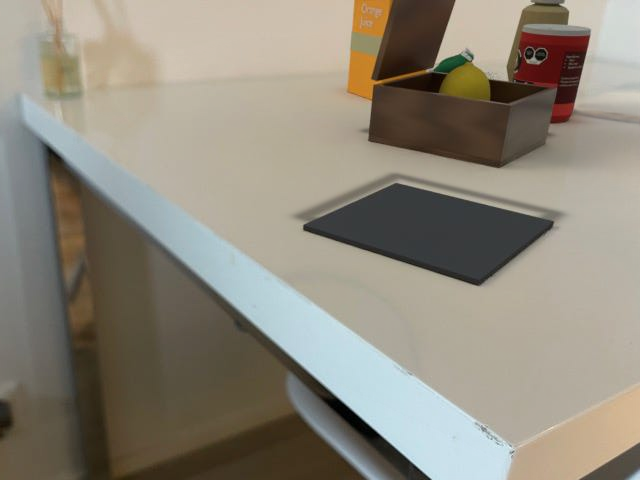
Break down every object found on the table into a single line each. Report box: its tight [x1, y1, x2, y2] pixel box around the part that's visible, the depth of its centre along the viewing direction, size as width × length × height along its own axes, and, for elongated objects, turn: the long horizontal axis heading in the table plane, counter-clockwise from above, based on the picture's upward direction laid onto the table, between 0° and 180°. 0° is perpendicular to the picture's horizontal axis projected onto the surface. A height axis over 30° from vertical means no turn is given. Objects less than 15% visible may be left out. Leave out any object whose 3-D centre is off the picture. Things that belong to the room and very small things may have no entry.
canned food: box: [512, 24, 592, 124], centre depth 85 cm, size 8×8×11 cm
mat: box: [302, 182, 555, 286], centre depth 51 cm, size 14×14×1 cm
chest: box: [367, 70, 557, 169], centre depth 73 cm, size 15×13×6 cm
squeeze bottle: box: [506, 0, 570, 82], centre depth 98 cm, size 8×8×18 cm
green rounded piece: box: [432, 46, 475, 73], centre depth 115 cm, size 9×4×6 cm
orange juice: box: [346, 0, 427, 101], centre depth 94 cm, size 8×9×20 cm
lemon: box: [439, 61, 490, 101], centre depth 72 cm, size 6×6×8 cm
